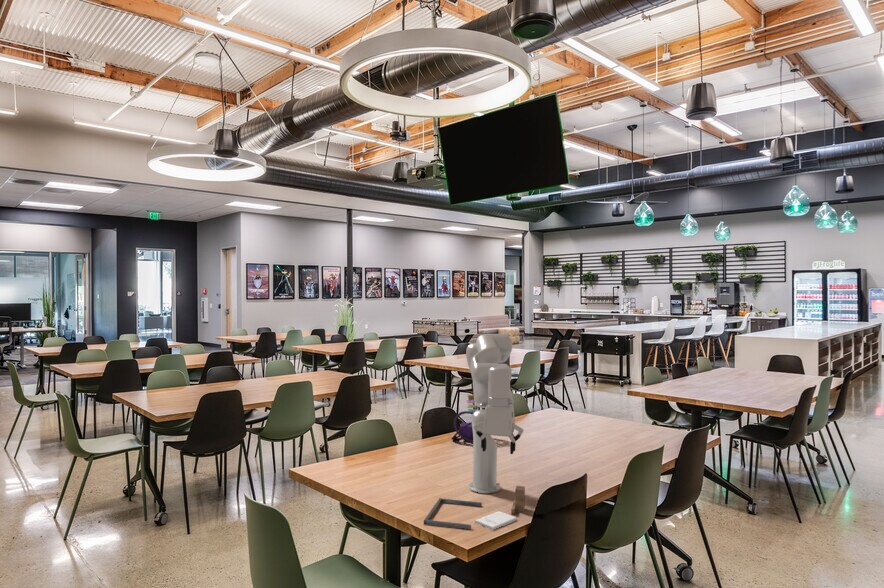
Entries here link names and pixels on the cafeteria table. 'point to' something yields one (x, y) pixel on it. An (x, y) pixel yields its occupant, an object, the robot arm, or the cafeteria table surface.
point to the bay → (449, 524)
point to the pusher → (518, 500)
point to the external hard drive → (496, 520)
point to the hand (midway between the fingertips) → (498, 451)
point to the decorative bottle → (465, 428)
